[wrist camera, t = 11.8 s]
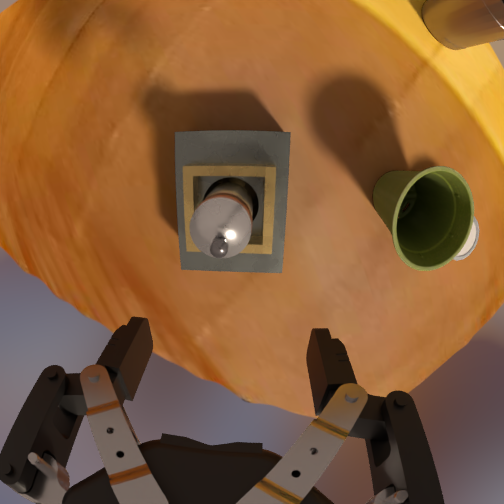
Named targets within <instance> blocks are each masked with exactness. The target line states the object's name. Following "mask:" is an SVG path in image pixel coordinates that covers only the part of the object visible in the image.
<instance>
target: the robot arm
mask: <svg viewBox="0 0 504 504" xmlns="http://www.w3.org/2000/svg"><path fill="white" fill-rule="evenodd" d="M422 17H423V19H424V22H425V24H426V26H427V28H428V29H429V31H430V32H431V34H432V35H433V36H434V37H435V38H436V39H437V40H438V41H439V42H440V43H441V44H443V45H444V46H446V47H448V48H450V49H453V50H460V49H464V48H467V47H471V46H476V45H480V44H484V43H489V42H494V41H499V40H504V0H427V1H426V3H425V4H424V5H423V7H422ZM152 350H153V340H152V336H151V331H150V326H149V322H148V319H147V318H142V317H132V318H131V319H130V321H129V322H128V324H127V326H126V325H122V326H121V327H119V328H118V329H117V330H116V331H115V332H114V334H113V335H112V337H111V339H110V340H109V342H108V345H106V347H105V349H104V351H103V352H102V354H101V356H100V357H99V359H98V361H97V363H96V364H95V365H90V366H88V367H86V368H85V369H84V370H83V371H82V372H81V373H73V374H66V373H65V371H64V369H63V368H62V367H61V366H58V365H52V366H49V367H47V368H45V369H44V370H43V372H42V373H41V375H40V376H39V378H38V380H37V382H36V383H35V385H34V387H33V389H32V390H31V392H30V394H29V396H28V398H27V400H26V402H25V403H24V405H23V407H22V409H21V411H20V413H19V415H18V417H17V419H16V421H15V423H14V425H13V427H12V429H11V431H10V433H9V435H8V437H7V440H6V442H5V444H4V446H3V449H2V451H1V454H0V480H1V481H2V482H3V483H5V484H6V485H8V486H9V487H10V488H12V489H13V490H14V491H15V492H17V493H18V494H20V495H22V496H23V497H25V498H26V499H28V500H30V501H31V502H34V503H36V504H334V503H333V502H332V501H331V500H329V499H328V498H327V497H326V496H325V495H324V494H322V493H321V492H320V491H319V490H318V489H317V488H316V487H314V485H315V483H316V482H317V480H318V479H319V478H320V476H321V475H322V474H323V472H324V471H325V469H326V468H327V467H328V465H329V464H330V462H331V461H332V459H333V458H334V456H335V455H336V453H337V452H338V450H339V449H340V447H341V445H342V444H343V442H344V441H345V439H346V437H347V436H351V437H357V438H364V439H365V441H366V446H367V452H368V458H369V464H370V470H371V476H372V482H373V489H374V497H372V498H371V499H370V500H368V502H367V503H366V504H444V499H443V495H442V491H441V487H440V483H439V479H438V475H437V471H436V468H435V464H434V461H433V457H432V454H431V451H430V447H429V444H428V441H427V438H426V435H425V432H424V429H423V426H422V423H421V420H420V417H419V414H418V412H417V409H416V406H415V404H414V401H413V399H412V397H411V396H410V395H409V394H407V393H406V392H403V391H393V392H391V393H389V394H388V395H387V397H379V396H373V395H369V394H367V392H366V390H365V389H364V388H363V387H361V386H360V385H358V384H357V381H356V378H355V375H354V372H353V369H352V366H351V363H350V361H349V357H348V355H347V351H346V349H345V346H344V344H343V343H342V342H341V341H340V340H339V339H338V338H337V339H331V335H330V332H329V329H328V328H313V329H312V331H311V336H310V340H309V345H308V349H307V357H306V360H307V367H308V373H309V379H310V384H311V390H312V396H313V402H314V408H315V414H316V416H318V415H319V416H318V418H317V419H314V420H313V421H312V422H311V424H310V425H309V426H308V427H307V429H306V430H305V431H304V432H303V434H302V435H301V436H300V437H299V439H298V440H297V441H296V442H295V444H294V445H293V446H292V447H291V448H290V450H289V451H288V452H287V453H286V454H285V455H284V457H282V456H280V455H278V454H276V453H274V452H271V451H268V450H264V449H262V443H244V442H235V443H229V444H221V445H213V446H212V445H207V444H204V443H201V442H198V441H195V440H192V439H190V438H187V437H181V436H175V435H169V434H163V433H162V437H161V439H160V440H152V441H148V442H145V443H142V444H141V443H140V441H139V439H138V437H137V435H136V433H135V431H134V429H133V427H132V425H131V423H130V420H129V418H128V416H127V414H126V411H125V409H124V407H123V403H124V400H125V399H126V400H130V401H133V399H134V396H135V393H136V391H137V388H138V385H139V383H140V381H141V378H142V375H143V373H144V371H145V368H146V366H147V363H148V361H149V358H150V356H151V353H152ZM84 415H87V418H88V421H89V424H90V427H91V431H92V434H93V437H94V440H95V442H96V445H97V448H98V451H99V453H100V456H101V459H102V461H103V463H104V466H105V467H104V468H102V469H101V470H99V471H97V472H96V473H94V474H92V475H91V476H89V477H87V478H86V479H84V480H82V481H80V482H79V483H77V484H75V485H73V486H72V487H71V488H69V486H70V482H69V474H68V472H67V470H66V469H65V468H66V465H67V462H68V459H69V456H70V453H71V450H72V447H73V444H74V441H75V439H76V436H77V433H78V430H79V428H80V425H81V422H82V420H83V417H84Z"/></svg>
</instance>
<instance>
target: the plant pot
mask: <svg viewBox="0 0 504 504" xmlns="http://www.w3.org/2000/svg"><path fill="white" fill-rule="evenodd" d="M373 203H374V207H375V210H376V211H377V213H378V214H379V216H380V217H381V219H382V220H383V221H384V223H385V224H386V226H387V227H388V229H389V230H390V232H391V234H392V238H393V243H394V246H395V249H396V251H397V254H398V255H399V257H400V258H401V260H402V261H403V262H404V263H405V264H406V265H408V266H409V267H411V268H413V269H416V270H420V271H430V270H435V269H438V268H440V267H442V266H444V265H446V264H447V263H449V262H450V261H451V260H452V259H453V258H454V257H455V256H456V255H457V254H458V253H459V252H460V251H461V249H462V248H463V247H464V245H465V243H466V241H467V239H468V237H469V234H470V231H471V229H472V225H473V219H474V202H473V197H472V193H471V190H470V188H469V185H468V184H467V182H466V180H465V179H464V178H463V176H462V175H461V174H459V173H458V172H457V171H455V170H454V169H452V168H449V167H445V166H434V167H430V168H427V169H425V170H423V171H391V172H388V173H386V174H384V175H383V176H382V177H381V178H380V179H379V180H378V181H377V183H376V185H375V187H374V190H373ZM408 203H409V207H408V208H407V209H406V210H405V211H404V212H403V209H404V207H405V206H406V205H407V204H408Z"/></svg>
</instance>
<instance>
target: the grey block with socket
mask: <svg viewBox="0 0 504 504" xmlns="http://www.w3.org/2000/svg"><path fill="white" fill-rule="evenodd" d="M289 155H290V132H275V131H244V130H216V131H186V132H175V175H176V201H177V219H178V235H179V248H180V260H181V270H205V271H232V272H264V273H282V265H283V252H284V239H285V225H286V209H287V193H288V175H289ZM228 182H231V183H236V184H239V185H241V186H243V187H244V188H245V189H246V190H247V191H248V192H249V193H250V195H251V197H252V201H253V213H252V233H251V237H250V240H249V242H248V244H247V246H246V247H245V248H244V249H243V250H242V251H241V252H240V253H238V254H237V255H235V256H232V257H229V258H214V257H211V256H208V255H206V254H204V253H203V252H201V251H200V250H199V249H198V248H197V247H196V245H195V244H194V242H193V241H192V238H191V235H190V221H191V218H192V215H193V213H194V211H195V210H196V208H197V207H198V206H199V205H200V203H201V202H202V201H203V200H204V199H205V198H206V197H207V196H208V194H209V193H210V192H211V191H212V190H213V189H214V188H215V187H216V186H218V185H220V184H222V183H228Z"/></svg>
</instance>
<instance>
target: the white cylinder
mask: <svg viewBox="0 0 504 504" xmlns="http://www.w3.org/2000/svg"><path fill="white" fill-rule="evenodd" d="M478 237H479V225H478V222H477V220H476V218H475V217H474V219H473V225H472V229H471V231H470V234H469V237H468V239H467V241H466V243H465V245H464V247H463V248H462V249H461V251H460V252H459V253H458V254H457V255H456V256H455V257H454V258H453V259H454V260H456V261H457V260H462V259H464V258H466V257H467V256H469V255H470V253H471V252H472V251H473V250H474V248H475V246H476V244H477V241H478Z"/></svg>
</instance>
